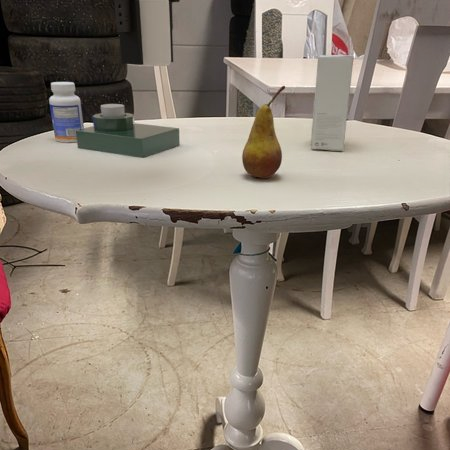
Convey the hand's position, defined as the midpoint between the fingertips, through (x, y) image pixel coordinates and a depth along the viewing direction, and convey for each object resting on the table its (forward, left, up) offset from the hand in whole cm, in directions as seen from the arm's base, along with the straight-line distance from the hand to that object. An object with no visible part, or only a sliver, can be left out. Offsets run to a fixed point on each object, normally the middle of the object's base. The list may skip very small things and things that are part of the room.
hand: (148, 62), depth 58 cm
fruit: (+13, +8, -15) cm, 21 cm away
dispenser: (-15, +14, -14) cm, 25 cm away
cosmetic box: (+15, +33, -15) cm, 39 cm away
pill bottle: (-28, +13, -15) cm, 35 cm away
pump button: (-18, +14, -10) cm, 25 cm away
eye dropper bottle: (0, 0, -1) cm, 1 cm away
